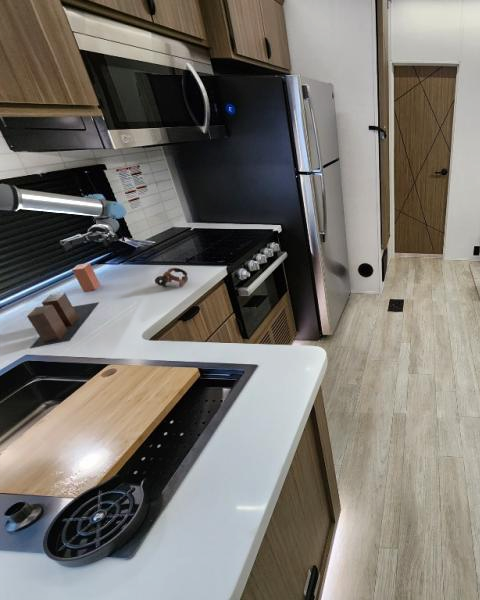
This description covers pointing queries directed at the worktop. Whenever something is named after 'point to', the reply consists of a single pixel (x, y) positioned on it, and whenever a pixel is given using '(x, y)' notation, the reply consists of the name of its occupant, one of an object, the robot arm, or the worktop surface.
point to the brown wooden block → (62, 308)
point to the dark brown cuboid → (47, 323)
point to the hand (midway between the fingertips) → (83, 245)
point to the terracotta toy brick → (86, 277)
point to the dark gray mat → (83, 314)
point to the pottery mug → (171, 277)
